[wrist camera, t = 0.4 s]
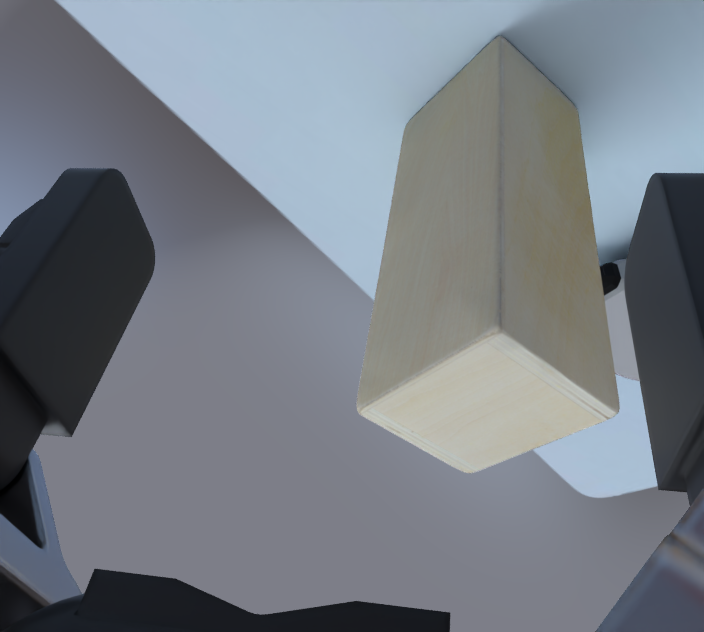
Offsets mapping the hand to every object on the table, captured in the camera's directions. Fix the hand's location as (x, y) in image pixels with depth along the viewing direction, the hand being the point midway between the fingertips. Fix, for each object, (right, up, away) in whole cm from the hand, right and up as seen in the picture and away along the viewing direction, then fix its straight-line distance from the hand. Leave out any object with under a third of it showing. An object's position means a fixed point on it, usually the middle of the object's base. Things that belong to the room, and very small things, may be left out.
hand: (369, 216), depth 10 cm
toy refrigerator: (+8, +10, +29) cm, 31 cm away
